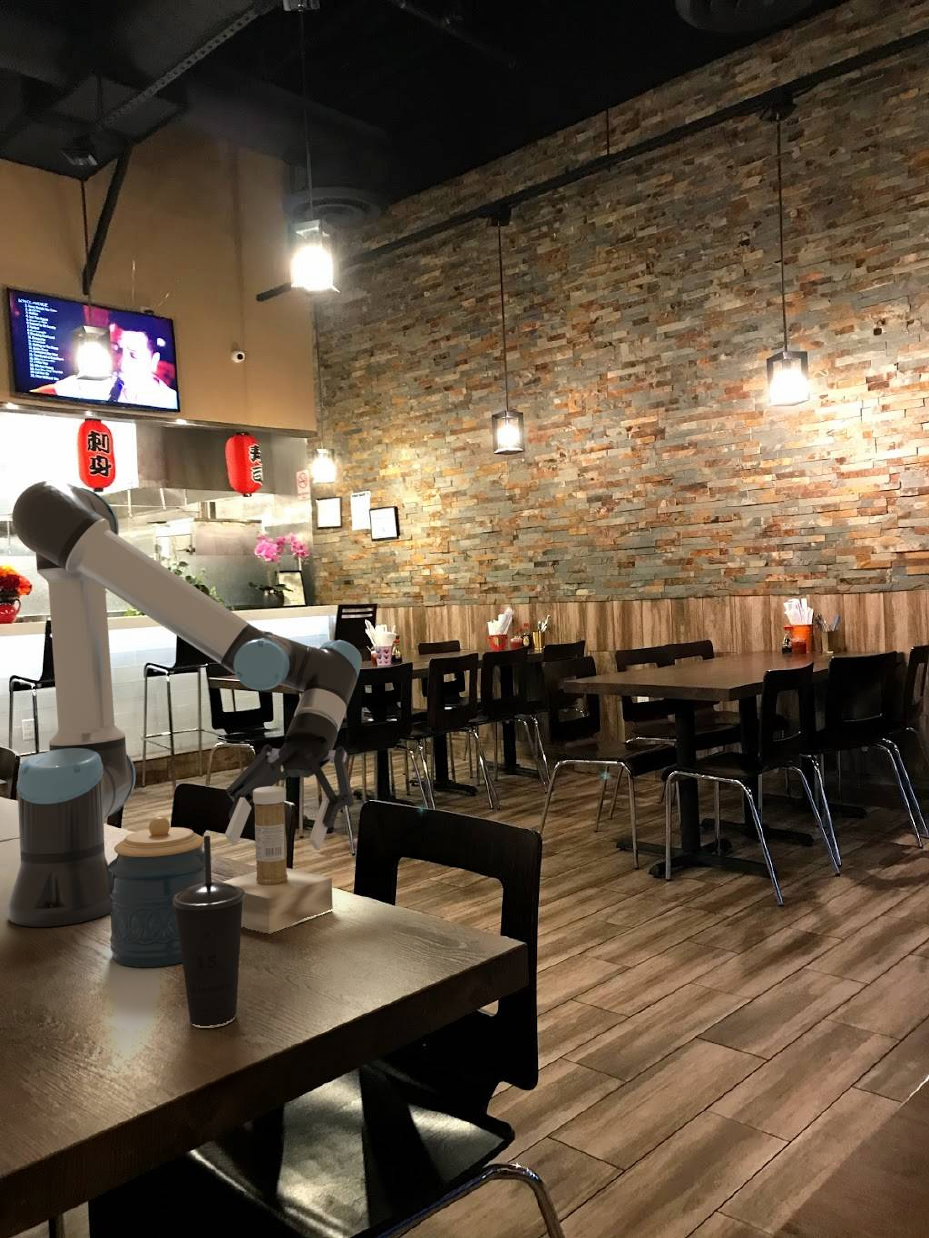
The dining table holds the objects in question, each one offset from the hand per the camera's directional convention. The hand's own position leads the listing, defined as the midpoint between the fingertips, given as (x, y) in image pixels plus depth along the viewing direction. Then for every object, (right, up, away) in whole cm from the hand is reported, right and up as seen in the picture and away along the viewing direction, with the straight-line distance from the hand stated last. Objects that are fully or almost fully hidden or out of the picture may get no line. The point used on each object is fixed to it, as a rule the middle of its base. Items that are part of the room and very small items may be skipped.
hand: (271, 842), depth 142 cm
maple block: (0, -11, +1) cm, 11 cm away
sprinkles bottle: (0, -6, +1) cm, 6 cm away
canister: (-12, -11, -13) cm, 21 cm away
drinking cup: (0, -11, -35) cm, 37 cm away
